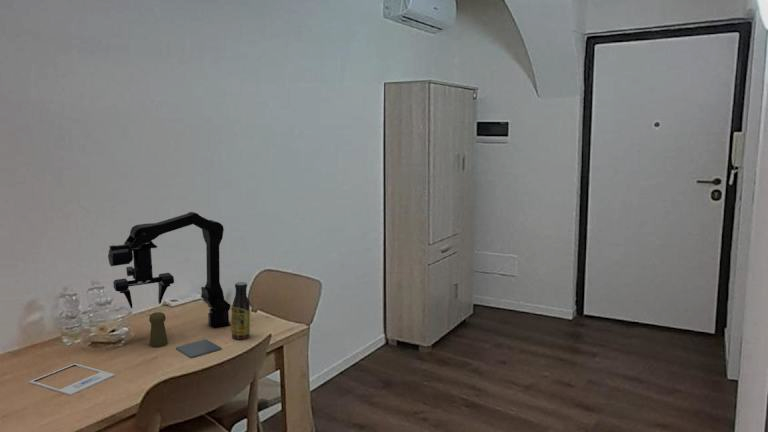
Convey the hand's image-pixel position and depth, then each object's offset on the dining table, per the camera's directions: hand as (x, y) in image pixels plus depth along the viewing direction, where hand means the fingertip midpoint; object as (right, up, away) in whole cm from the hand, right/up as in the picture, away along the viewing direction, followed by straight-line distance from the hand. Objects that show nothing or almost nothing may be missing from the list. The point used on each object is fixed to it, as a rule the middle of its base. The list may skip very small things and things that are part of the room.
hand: (145, 305), depth 201 cm
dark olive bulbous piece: (+5, -13, -2) cm, 14 cm away
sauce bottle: (+32, -12, +5) cm, 34 cm away
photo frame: (-9, -18, -30) cm, 36 cm away
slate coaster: (+20, -14, -6) cm, 25 cm away
